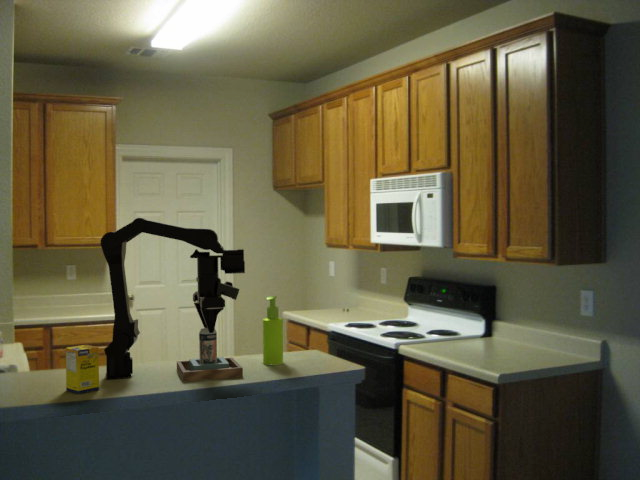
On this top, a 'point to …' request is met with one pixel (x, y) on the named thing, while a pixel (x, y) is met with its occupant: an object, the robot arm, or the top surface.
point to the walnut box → (209, 371)
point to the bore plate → (195, 364)
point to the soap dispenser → (272, 335)
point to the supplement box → (82, 369)
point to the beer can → (207, 346)
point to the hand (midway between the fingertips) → (208, 330)
